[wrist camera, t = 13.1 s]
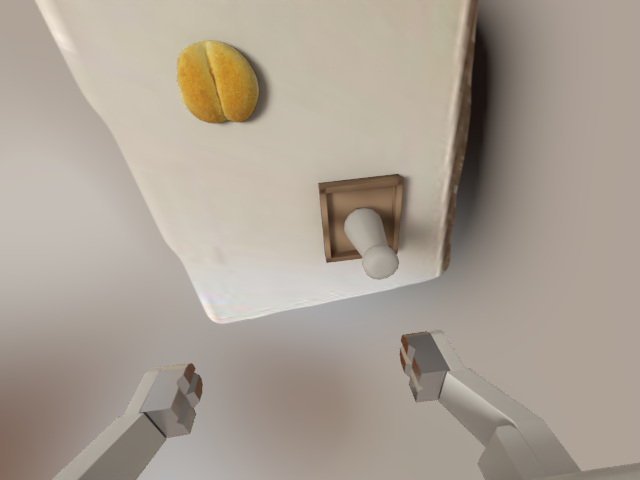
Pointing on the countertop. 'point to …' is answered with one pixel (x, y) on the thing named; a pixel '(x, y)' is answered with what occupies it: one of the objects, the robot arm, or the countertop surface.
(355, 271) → the countertop surface
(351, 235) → the salt shaker
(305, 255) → the countertop surface
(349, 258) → the tray
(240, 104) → the bread roll
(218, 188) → the countertop surface
